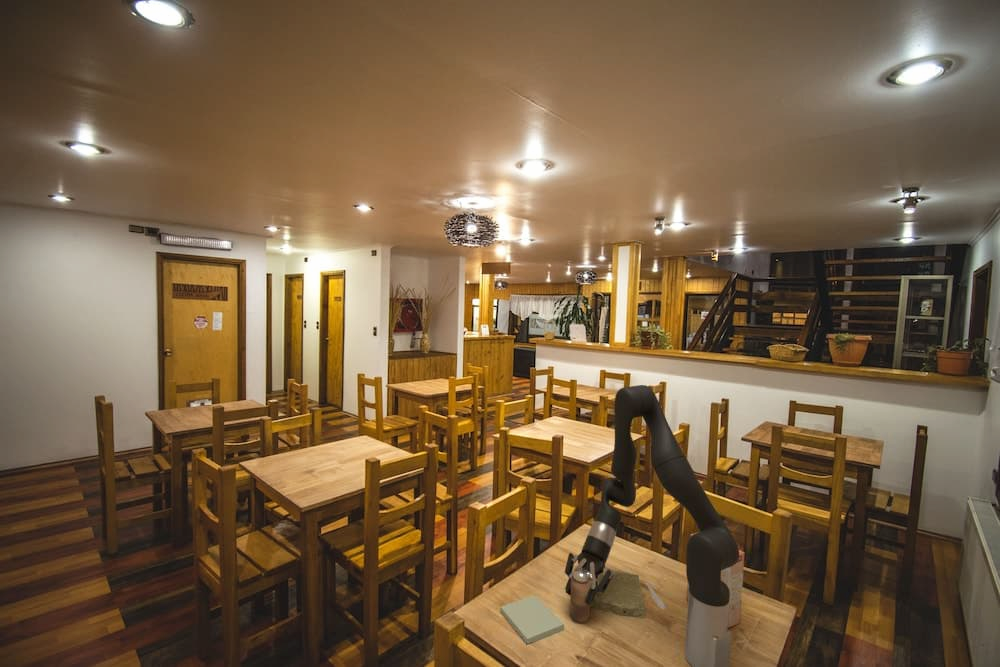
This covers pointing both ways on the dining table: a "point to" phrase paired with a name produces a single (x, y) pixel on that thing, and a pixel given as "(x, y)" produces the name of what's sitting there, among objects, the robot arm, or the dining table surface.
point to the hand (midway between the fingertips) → (577, 598)
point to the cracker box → (733, 588)
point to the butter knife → (656, 597)
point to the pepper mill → (580, 596)
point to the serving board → (531, 619)
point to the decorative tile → (621, 595)
